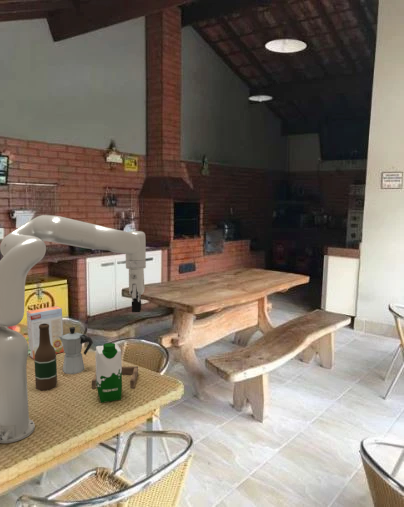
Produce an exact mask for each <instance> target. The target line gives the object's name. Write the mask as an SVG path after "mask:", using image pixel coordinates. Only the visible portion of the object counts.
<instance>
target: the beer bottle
mask: <svg viewBox="0 0 404 507" xmlns="http://www.w3.org/2000/svg"><path fill="white" fill-rule="evenodd" d="M39 329H40V336H39V347H38V349H37V351H36V353H35V359H33V360H34V376H35V377H34V378H35V379H34V380H35V389H36V390H38V391H40V392H43V391H50V390H53V389H55V388H56V387H57V384H58V368H57V354H56V351H55V349H54V347H53V346H52V345H51V343H50V336H49V324H40V325H39Z"/></svg>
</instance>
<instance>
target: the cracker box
mask: <svg viewBox="0 0 404 507" xmlns="http://www.w3.org/2000/svg"><path fill="white" fill-rule="evenodd" d="M40 324H49V336H50V343H51V345H52V346H53V347H54V349H55V351H56V355H57V354H61V353H64V349H63V343H62V341H61V339H60V338H59V337H58V336H63V335H64V328H63V326H64V325H63V308H62V307H60V306H58V305H55V306H48V307H44V308H43V307H42V308H36V309H31V310H26V325H27V338H28V337H29V340H27V343H28V350H29V349H30V350H31V354H30V355H29V354H28V357H30V358H32V359H33V360H35V353H36V351H37V349H38V347H39V336H40V329H39V325H40Z"/></svg>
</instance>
